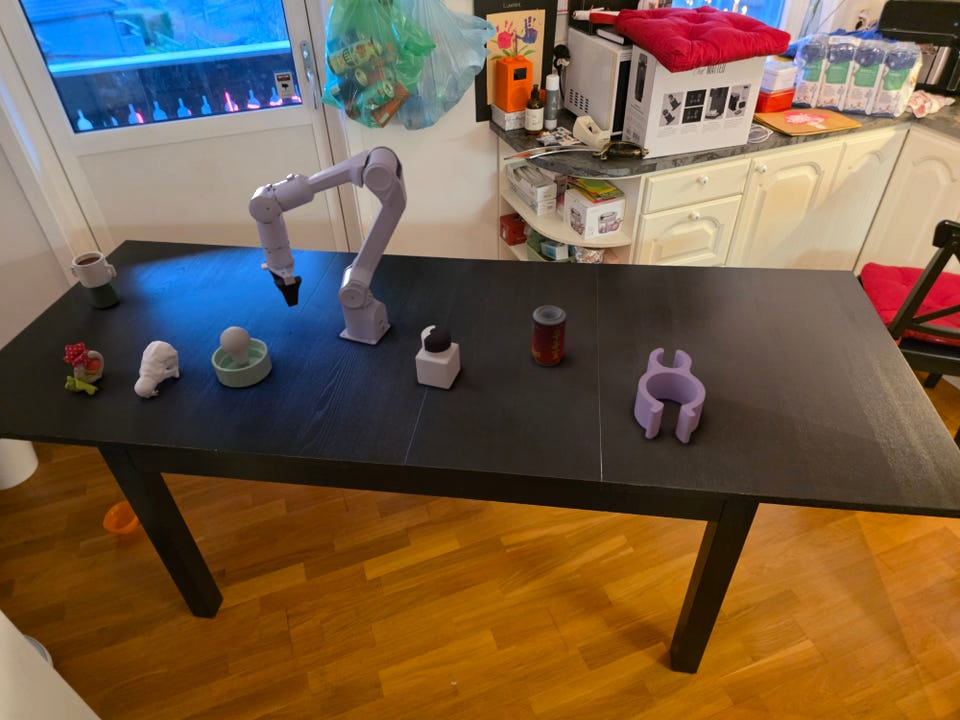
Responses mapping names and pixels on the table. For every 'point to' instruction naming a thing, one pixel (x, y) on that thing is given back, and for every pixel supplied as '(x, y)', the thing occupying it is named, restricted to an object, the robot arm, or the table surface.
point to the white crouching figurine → (156, 367)
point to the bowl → (243, 376)
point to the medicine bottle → (437, 358)
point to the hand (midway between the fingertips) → (288, 297)
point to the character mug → (96, 278)
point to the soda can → (548, 334)
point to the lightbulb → (236, 345)
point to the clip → (669, 394)
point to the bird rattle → (83, 367)
